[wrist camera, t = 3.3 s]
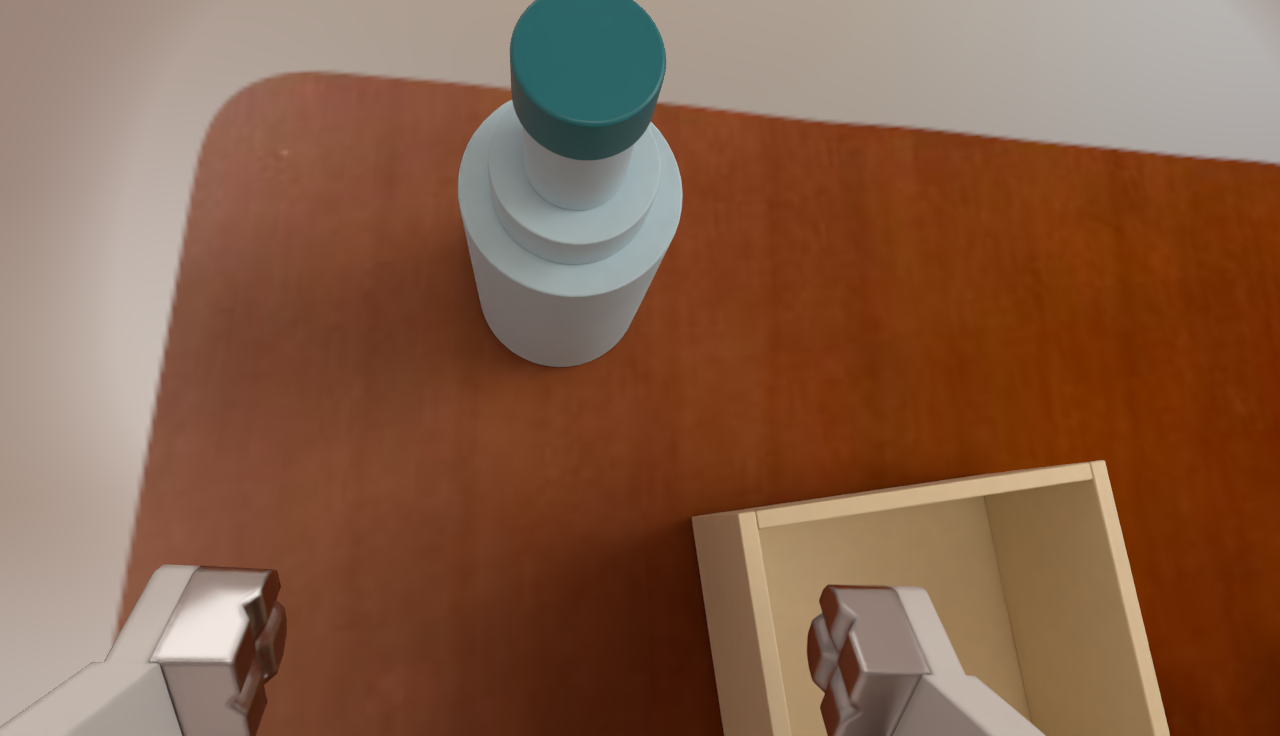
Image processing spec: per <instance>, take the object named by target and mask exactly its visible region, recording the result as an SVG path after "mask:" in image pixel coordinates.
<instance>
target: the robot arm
mask: <svg viewBox="0 0 1280 736" xmlns="http://www.w3.org/2000/svg"><path fill="white" fill-rule="evenodd" d="M280 587H281V585H280V581H279V577H278V572H277V571H276V570H272V569H254V568H235V567H216V566H189V565H167V564H163V565H162V566H161V567H160V568H159V569H157V570H156V571H155V572H154V573H153V574H152V576H151V578H150V580H149V582H148V583H147V585H146V587H145V589H144V591H143V592H142V594H141V596H140V598H139V599H138V601H137V603H136V605H135V607H134V608H133V610H132V612H131V614H130V616H129V617H128V619H127V621H126V623H125V625H124V626H123V628H122V630H121V632H120V634H119V635H118V637H117V639H116V641H115V643H114V644H113V646H112V648H111V650H110V652H109V653H108V655H107V657H106V659H105V661H104V662H92V663H90V664H89V665H87V666H86V667H85V668H83V669H82V670H80V671H79V672H77V673H76V674H75V675H73V676H72V677H70V678H69V679H68V680H66V681H65V682H63V683H62V684H60V685H59V686H58V687H56V688H55V689H53V690H52V691H50V692H49V693H48V694H46V695H45V696H43V697H42V698H41V699H39V700H38V701H36V702H35V703H34V704H32V705H31V706H29V707H28V708H26V709H25V710H23V711H22V712H20V713H19V714H18V715H16V716H15V717H13V718H12V719H10V720H9V721H8V722H6V723H5V724H3V725H2V726H1V727H0V736H255V735H256V733H257V730H258V727H259V724H260V721H261V718H262V715H263V713H264V710H265V707H266V704H267V698H266V693H265V688H264V684H265V683H267V682H268V681H269V680H270V679H271V678H272V677H274V676H275V675H276V674H277V672H278V669H279V666H280V663H281V660H282V657H283V652H284V646H285V640H286V613H285V608H284V607H283V606H282V605H281V604H280V603H278V602H277V601H276V598H277V596H278V593H279V590H280ZM819 603H820V606H821V610H822V613H821V614H820V615H818V616H817V617H815V618H814V619H813V620H812V622H811V625H810V628H809V632H808V637H807V658H808V666H809V670H810V674H811V678H812V681H813V682H814V683H815V684H816V685H817V686H818V687H819V688H820V689H821V690H822V691H823V692H824V693H825V695H824V697H823V700H822V703H821V705H820V710H821V714H822V717H823V721H824V724H825V728H826V731H827V735H828V736H1046V735H1045V734H1044V733H1042V732H1041V731H1040V730H1039V729H1038V728H1036V727H1035V726H1034V725H1033V724H1032V723H1031V722H1029V721H1028V720H1027V719H1026V718H1025V717H1023V716H1022V715H1021V714H1020V713H1019V712H1017V711H1016V710H1015V709H1014V708H1013V707H1012V706H1010V705H1009V704H1008V703H1007V702H1006V701H1004V700H1003V699H1002V698H1001V697H1000V696H998V695H997V694H996V693H995V692H994V691H993V690H991V689H990V688H989V687H988V686H987V685H985V684H984V683H983V682H982V681H981V680H979V679H978V678H977V677H976V676H969V675H965V672H964V670H963V668H962V666H961V664H960V662H959V660H958V657H957V655H956V653H955V651H954V649H953V647H952V644H951V642H950V640H949V638H948V636H947V634H946V632H945V629H944V627H943V625H942V623H941V621H940V619H939V617H938V614H937V612H936V610H935V608H934V606H933V604H932V601H931V599H930V597H929V595H928V593H927V591H925V590H924V589H923V588H922V587H915V586H887V585H832V584H828V585H827V586H826V587H825V588H824V589H823V591H822V594H821V596H820V599H819Z"/></svg>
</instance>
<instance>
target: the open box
mask: <svg viewBox="0 0 1280 736" xmlns="http://www.w3.org/2000/svg"><path fill="white" fill-rule="evenodd" d="M692 524H693V531H694V538H695V545H696V551H697V558H698V565H699V571H700V578H701V585H702V591H703V598H704V605H705V611H706V618H707V625H708V632H709V638H710V645H711V652H712V658H713V665H714V672H715V678H716V685H717V692H718V699H719V705H720V712H721V719H722V725H723V732H724V736H828V735H827V731H826V728H825V724H824V721H823V717H822V714H821V710H820V705H821V703H822V700H823V697H824V695H825V693H824V692H823V691H822V690H821V689H820V688H819V687H818V686H817V685H816V684H815V683H814V682H813V681H812V678H811V674H810V670H809V666H808V658H807V637H808V632H809V628H810V625H811V622H812V620H813V619H814V618H815V617H817V616H818V615H820V614H821V613H822V610H821V606H820V603H819V599H820V596H821V594H822V591H823V589H824V588H825V587H826V586H827V585H828V584H832V585H887V586H915V587H922V588H923V589H924V590H925V591H927V593H928V595H929V597H930V599H931V601H932V604H933V606H934V608H935V610H936V612H937V614H938V617H939V619H940V621H941V623H942V625H943V627H944V629H945V632H946V634H947V636H948V638H949V640H950V642H951V644H952V647H953V649H954V651H955V653H956V655H957V657H958V660H959V662H960V664H961V666H962V668H963V670H964V672H965V675H969V676H976V677H977V678H978V679H979V680H981V681H982V682H983V683H984V684H985V685H987V686H988V687H989V688H990V689H991V690H993V691H994V692H995V693H996V694H997V695H998V696H1000V697H1001V698H1002V699H1003V700H1004V701H1006V702H1007V703H1008V704H1009V705H1010V706H1012V707H1013V708H1014V709H1015V710H1016V711H1017V712H1019V713H1020V714H1021V715H1022V716H1023V717H1025V718H1026V719H1027V720H1028V721H1029V722H1031V723H1032V724H1033V725H1034V726H1035V727H1036V728H1038V729H1039V730H1040V731H1041V732H1042V733H1044V734H1045V735H1046V736H1170V733H1169V729H1168V725H1167V721H1166V716H1165V712H1164V708H1163V704H1162V699H1161V695H1160V691H1159V687H1158V683H1157V678H1156V674H1155V670H1154V666H1153V662H1152V657H1151V653H1150V649H1149V645H1148V641H1147V636H1146V632H1145V628H1144V624H1143V620H1142V615H1141V611H1140V607H1139V603H1138V599H1137V594H1136V590H1135V586H1134V582H1133V577H1132V573H1131V569H1130V565H1129V561H1128V556H1127V552H1126V548H1125V544H1124V540H1123V535H1122V531H1121V527H1120V523H1119V519H1118V514H1117V510H1116V506H1115V502H1114V498H1113V493H1112V489H1111V485H1110V481H1109V477H1108V472H1107V468H1106V464H1105V461H1103V460H1100V461H1092V462H1083V463H1075V464H1066V465H1058V466H1050V467H1041V468H1033V469H1024V470H1016V471H1008V472H999V473H991V474H983V475H976V476H969V477H962V478H955V479H948V480H941V481H935V482H928V483H921V484H914V485H907V486H900V487H893V488H886V489H879V490H873V491H866V492H859V493H852V494H845V495H838V496H831V497H824V498H818V499H811V500H804V501H797V502H790V503H783V504H776V505H769V506H762V507H756V508H749V509H742V510H735V511H728V512H721V513H714V514H707V515H701V516H694V517H692Z"/></svg>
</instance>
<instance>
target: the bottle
mask: <svg viewBox="0 0 1280 736" xmlns="http://www.w3.org/2000/svg"><path fill="white" fill-rule="evenodd" d="M510 66H511V90H512V100H510V101H508V102H507V103H505V104H503V105H502V106H501V107H499V108H498V109H497V110H495V111H494V112H493V113H492V114H491V115H490V116H489V117H488V118H487V119H485V120H484V121H483V123H482V124H481V125H480V126H479V128H478V129H477V130H476V131H475V133H474V135H473V136H472V138H471V140H470V141H469V143H468V145H467V148H466V150H465V152H464V155H463V157H462V161H461V165H460V169H459V177H458V200H459V205H460V211H461V216H462V220H463V225H464V230H465V234H466V239H467V243H468V248H469V253H470V257H471V262H472V266H473V271H474V276H475V280H476V285H477V289H478V294H479V299H480V303H481V308H482V311H483V314H484V317H485V319H486V321H487V323H488V325H489V327H490V329H491V330H492V332H493V333H494V335H495V336H496V337H497V338H498V339H499V340H500V342H501V343H502V344H503V345H505V346H506V347H507V348H508V349H509V350H510V351H512V352H513V353H515V354H516V355H518V356H520V357H522V358H524V359H526V360H528V361H531V362H533V363H536V364H540V365H545V366H552V367H569V366H575V365H580V364H583V363H587V362H590V361H592V360H594V359H596V358H598V357H600V356H602V355H603V354H605V353H606V352H608V351H609V350H610V349H611V348H612V347H614V346H615V345H616V344H617V343H618V342H619V340H620V339H621V338H622V337H623V336H624V334H625V333H626V331H627V330H628V328H629V326H630V324H631V322H632V320H633V318H634V316H635V314H636V312H637V310H638V308H639V306H640V304H641V302H642V300H643V298H644V296H645V293H646V291H647V289H648V287H649V285H650V283H651V281H652V279H653V277H654V275H655V273H656V271H657V269H658V267H659V265H660V263H661V261H662V259H663V257H664V255H665V253H666V251H667V249H668V247H669V245H670V243H671V241H672V239H673V237H674V235H675V232H676V229H677V226H678V223H679V220H680V215H681V209H682V183H681V177H680V173H679V168H678V165H677V163H676V160H675V157H674V155H673V153H672V151H671V149H670V147H669V145H668V143H667V141H666V140H665V139H664V137H663V136H662V134H661V133H660V131H659V130H658V129H657V128H656V127H655V126H654V125H653V123H652V122H651V119H652V116H653V113H654V110H655V106H656V103H657V100H658V96H659V93H660V90H661V86H662V83H663V79H664V75H665V70H666V54H665V48H664V43H663V40H662V38H661V35H660V33H659V31H658V29H657V27H656V25H655V23H654V22H653V20H652V19H651V17H650V16H649V15H648V14H647V13H646V12H645V10H644V9H643V8H642V7H640V6H639V5H638V4H637V3H636V2H634V1H633V0H535V1H534V2H533V3H532V4H531V5H530V6H529V7H528V8H527V9H526V10H525V11H524V13H523V14H522V15H521V17H520V18H519V20H518V22H517V23H516V26H515V28H514V31H513V34H512V38H511V43H510Z"/></svg>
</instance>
